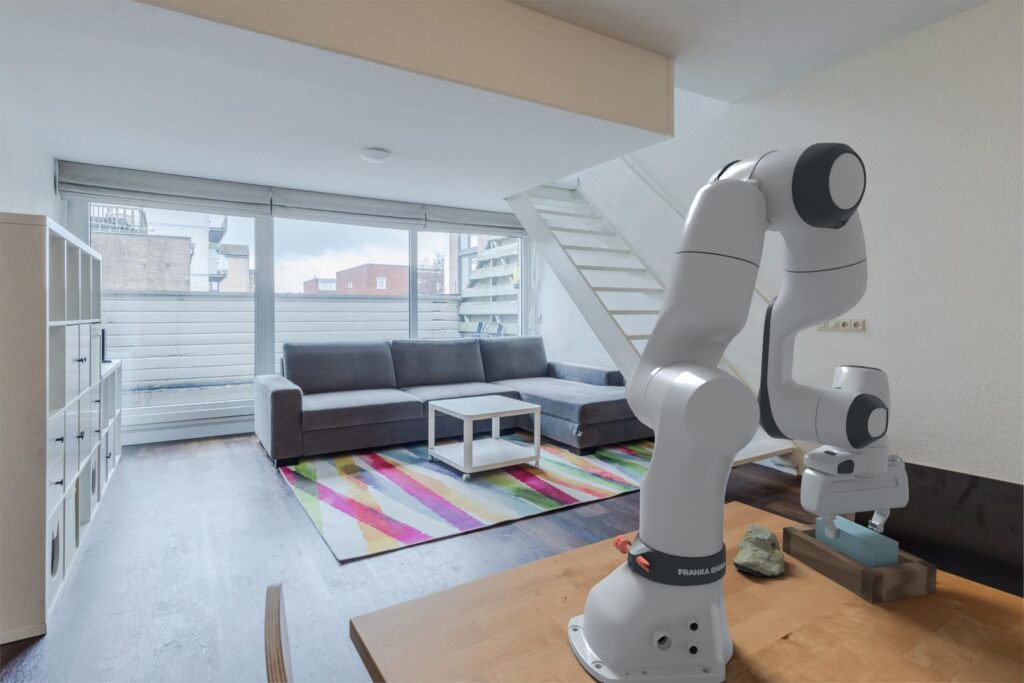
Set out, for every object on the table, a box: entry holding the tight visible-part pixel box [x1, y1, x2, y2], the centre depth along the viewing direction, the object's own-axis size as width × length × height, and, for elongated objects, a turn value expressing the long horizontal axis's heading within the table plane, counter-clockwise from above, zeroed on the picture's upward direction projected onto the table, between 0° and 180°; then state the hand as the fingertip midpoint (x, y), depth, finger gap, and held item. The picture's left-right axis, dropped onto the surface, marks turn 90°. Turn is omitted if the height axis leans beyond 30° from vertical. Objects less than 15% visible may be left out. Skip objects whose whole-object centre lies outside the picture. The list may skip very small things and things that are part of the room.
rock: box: [732, 524, 786, 578], centre depth 96 cm, size 11×6×10 cm
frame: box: [781, 523, 938, 604], centre depth 94 cm, size 13×19×4 cm
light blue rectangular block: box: [815, 514, 899, 568], centre depth 94 cm, size 12×5×4 cm, turn 14°
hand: (854, 534), depth 94 cm, fingers open, 8 cm apart
